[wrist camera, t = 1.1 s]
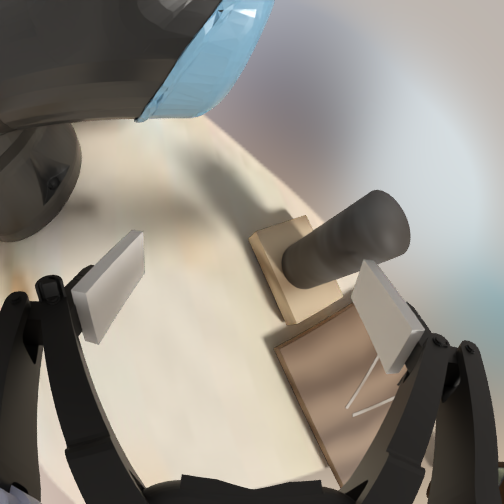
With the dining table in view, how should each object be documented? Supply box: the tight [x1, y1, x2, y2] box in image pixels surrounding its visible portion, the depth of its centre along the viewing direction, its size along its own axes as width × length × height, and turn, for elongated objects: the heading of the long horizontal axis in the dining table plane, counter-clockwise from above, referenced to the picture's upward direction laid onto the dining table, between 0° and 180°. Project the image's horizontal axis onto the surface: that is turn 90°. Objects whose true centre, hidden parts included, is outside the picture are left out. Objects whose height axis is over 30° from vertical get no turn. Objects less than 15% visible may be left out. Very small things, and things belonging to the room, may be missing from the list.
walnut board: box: [274, 303, 407, 488], centre depth 25 cm, size 24×14×2 cm, turn 25°
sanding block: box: [248, 190, 410, 325], centre depth 21 cm, size 9×6×13 cm, turn 25°
